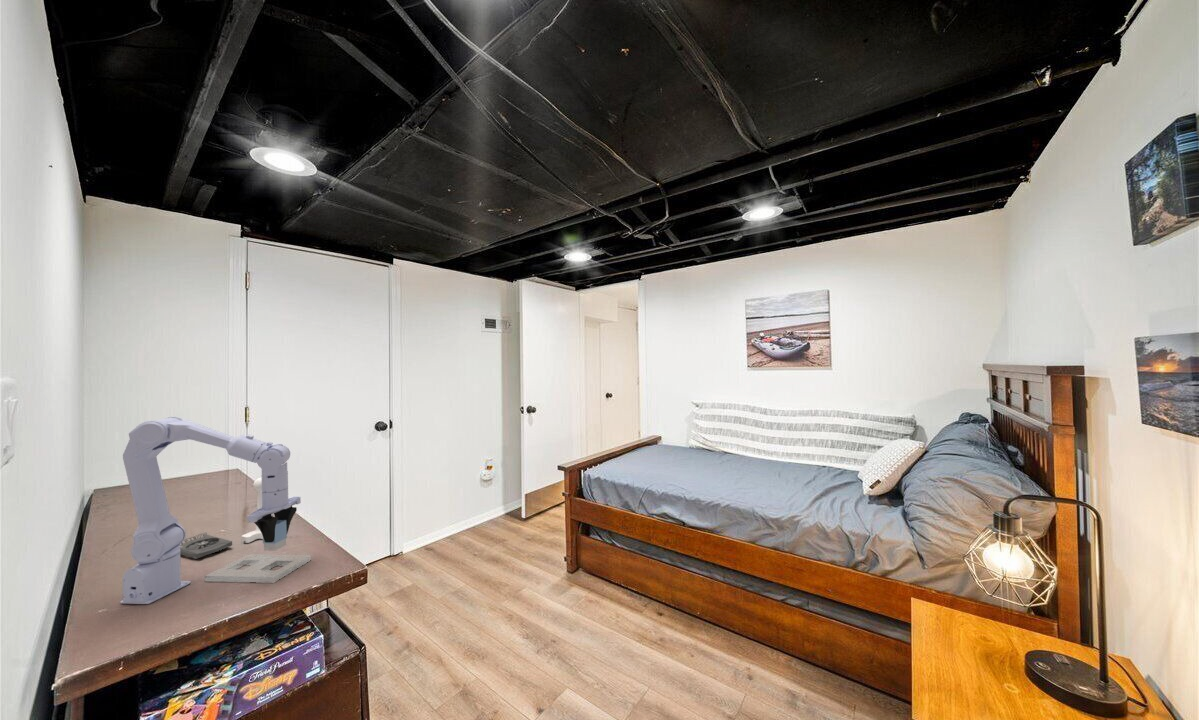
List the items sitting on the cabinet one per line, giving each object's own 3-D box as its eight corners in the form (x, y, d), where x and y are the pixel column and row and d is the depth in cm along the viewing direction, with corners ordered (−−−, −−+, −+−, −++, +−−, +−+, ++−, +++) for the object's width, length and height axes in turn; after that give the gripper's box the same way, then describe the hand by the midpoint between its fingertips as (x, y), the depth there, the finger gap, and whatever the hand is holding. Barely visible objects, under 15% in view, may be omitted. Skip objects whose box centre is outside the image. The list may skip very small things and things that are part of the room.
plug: (275, 550, 109) (274, 525, 109) (263, 550, 109) (262, 525, 109) (286, 544, 112) (286, 520, 112) (275, 544, 113) (274, 519, 113)
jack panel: (273, 583, 104) (273, 577, 104) (204, 581, 106) (204, 575, 106) (310, 560, 116) (310, 555, 116) (248, 559, 118) (248, 554, 118)
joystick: (277, 529, 140) (276, 472, 140) (290, 531, 137) (289, 474, 138) (239, 542, 130) (237, 481, 130) (252, 545, 127) (251, 483, 127)
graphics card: (155, 547, 121) (206, 530, 132) (156, 559, 121) (207, 541, 132) (185, 556, 115) (236, 538, 126) (186, 569, 115) (236, 549, 126)
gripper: (264, 498, 103) (265, 550, 103) (309, 481, 118) (310, 527, 118) (239, 498, 104) (240, 550, 104) (287, 481, 118) (288, 527, 118)
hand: (276, 538), depth 111 cm, fingers closed on plug, 4 cm apart
